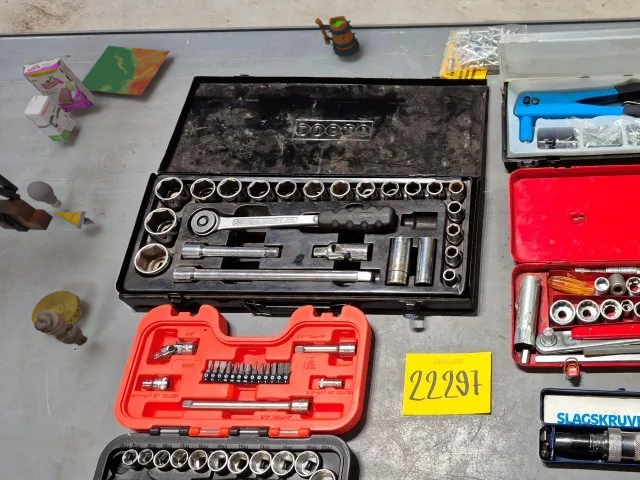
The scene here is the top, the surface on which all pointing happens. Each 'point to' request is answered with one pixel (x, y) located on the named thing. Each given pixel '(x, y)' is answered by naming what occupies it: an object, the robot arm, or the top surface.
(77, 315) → the yellow round disc
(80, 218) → the drill bit
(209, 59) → the top surface
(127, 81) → the terrain model
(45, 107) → the ink box
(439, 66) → the top surface
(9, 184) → the robot arm
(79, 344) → the brown lumpy elongated piece
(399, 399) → the top surface
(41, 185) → the light bulb
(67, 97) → the candy bar box
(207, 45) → the top surface
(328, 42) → the mug
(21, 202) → the brown stepped block
